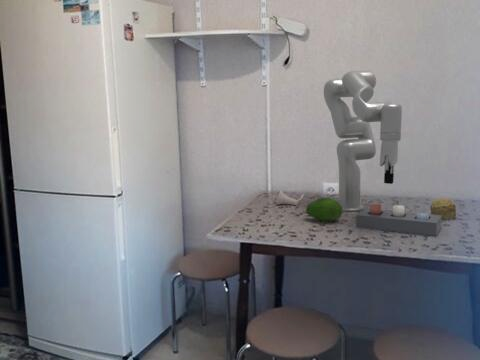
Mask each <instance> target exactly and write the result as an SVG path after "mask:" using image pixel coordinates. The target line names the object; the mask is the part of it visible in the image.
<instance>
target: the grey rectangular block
mask: <svg viewBox="0 0 480 360" xmlns="http://www.w3.org/2000/svg"><path fill="white" fill-rule="evenodd" d="M417 213H418V212H411V211H405V213H404V217H394V216H393V210H388V209H387V210H386V209H381V215H374V214H370V208H365V207H364V209H363V210H360V211H358V213H356V214H355V227H356V228H360V229H369V230H376V231H378V230H379V231H386V232H394V233H396V232H397V233H403V234H404V233H406V234H413V235H421V236H431V237H437V236H438V235H439V233H440V231H441V230H442V226H443V225H442V224H443V220H442V215H433V214H431V213H428V214H429V220H425V219H416V218H417Z"/></svg>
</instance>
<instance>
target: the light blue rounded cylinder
mask: <svg viewBox="0 0 480 360" xmlns="http://www.w3.org/2000/svg"><path fill="white" fill-rule="evenodd" d="M416 213H417V218H416V219H425V220H429V214H430V213H427V212H416Z"/></svg>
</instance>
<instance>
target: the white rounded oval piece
mask: <svg viewBox="0 0 480 360" xmlns="http://www.w3.org/2000/svg"><path fill="white" fill-rule="evenodd" d="M405 209H406V208H405V205H399V204H395V205H393V206H392V211H393V216H394V217H404V213H405V212H406V210H405Z"/></svg>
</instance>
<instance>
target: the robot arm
mask: <svg viewBox="0 0 480 360" xmlns="http://www.w3.org/2000/svg"><path fill="white" fill-rule="evenodd" d="M376 84H377V78H376V75H375V74H374V73H373V72H372V71H370V70H353V71H351V70H350V71H348V72H346V73H344V74H343V76H342V78H334V79H330V80H328V81H327V82H325V84H324V86H323V98H324V102H325V104H326V106H327V108H328V110H329V112H330V114H331V120H332V123H333V127H334V132H335V135H336V136H337V137H338V138H339V139H342V141H340V142H338V144H337V146H336V155H337V160H338V161H337V162H338V198H333V197H331V198H332V199H334V200H336V201H337V202H338V203H339V204H340V205H341V207H342V210H343V211H342V212H351V213H352V212H361V211H362V210H363V209H365V206H364V205H363V204H361V168H360V166H359V165H358V164H357V161H362V160H363V161H364V160H366V161H367V160H371V159H373V158H374V157H375V155H376V152H377V146H376V142H375V138H374V135H373V132H372V131H373V130H372V127H371V125H370V123H375V122H376V123H377V122H380V129H379V130H380V132H379V133H380V135H379V137H380V138H379V140H380V141H381V144H380V155H379V166H380V167H383V166H384V177H383V184H389V185H392V184H394V171H395V166H396V164H397V163H398V156H399V154H398V153H399V143H398V142H400V141H402V140H401V138H402V137H401V136H402V115H403V114H402V111H403V108H402V105H401V104H399V103H392V102H389V101H383V102H379V101H378V102H377V101H376V102H369V101H371V99H373V96H374V92H375V91H374V89H375V87H376ZM342 98H352V104H351V105H352V111H353V113H354V114H355V116H352V114H351V110H350V107H349V106H348V105H347V103H346V102H345V101H344V100H343V99H342ZM344 139H345V140H344Z"/></svg>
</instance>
